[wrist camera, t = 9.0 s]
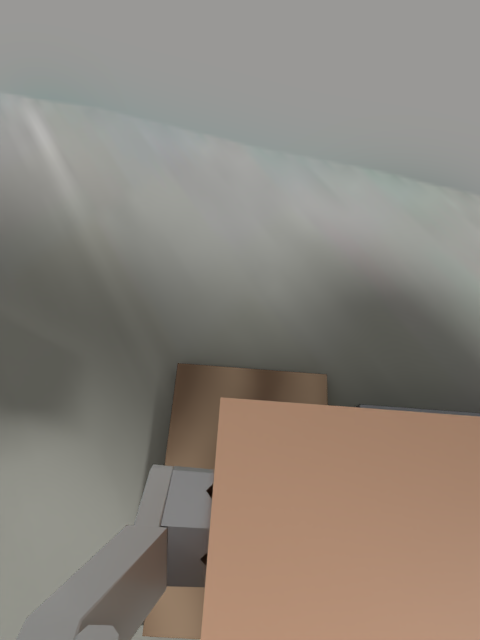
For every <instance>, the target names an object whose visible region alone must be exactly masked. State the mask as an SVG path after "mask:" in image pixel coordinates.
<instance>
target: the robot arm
mask: <svg viewBox="0 0 480 640" xmlns="http://www.w3.org/2000/svg"><path fill="white" fill-rule="evenodd" d="M213 482H214V470H213V469H203V468H192V467H181V466H166V465H155V464H153V466H152V467H151V469H150V471H149V475H148V478H147V482H146V485H145V488H144V492H143V495H142V498H141V502H140V505H139V508H138V512H137V515H136V519H135V522H134V525H126V526H125V527H124V528H123V529H122V530H121V531H120V532H119V533H118V534H117V535H115V536H114V537H113V538H112V539H111V540H110V541H109V542H108V543H107V544H106V545H105V546H104V547H103V548H101V549H100V550H99V551H98V552H97V553H96V554H95V555H94V556H93V557H92V558H91V559H90V560H89V561H87V562H86V563H85V564H84V565H83V566H82V567H81V568H80V569H79V570H78V571H77V572H76V573H74V574H73V575H72V576H71V577H70V578H69V579H68V580H67V581H66V582H65V583H64V584H63V585H62V586H60V587H59V588H58V589H57V590H56V591H55V592H54V593H53V594H52V595H51V596H50V597H49V598H48V599H46V600H45V601H44V602H43V603H42V604H41V605H40V606H39V607H38V608H37V609H36V610H35V611H34V612H32V613H31V614H30V615H29V616H28V617H27V618H26V620H25V622H24V624H23V626H22V628H21V630H20V632H19V634H18V637H17V639H16V640H131V638H132V637H133V636H134V634H135V633H136V631H137V630H138V629H139V627H140V626H141V624H142V623H143V621H144V620H145V619H146V617H147V616H148V614H149V613H150V612H151V610H152V609H153V607H154V606H155V605H156V603H157V602H158V600H159V599H160V597H161V596H162V595H163V593H164V592H165V590H166V586H171V587H205V580H206V568H207V556H208V543H209V531H210V519H211V507H212V495H213Z"/></svg>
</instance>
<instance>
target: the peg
mask: <svg viewBox="0 0 480 640" xmlns="http://www.w3.org/2000/svg"><path fill="white" fill-rule="evenodd" d="M201 640H480V417H479V416H465V415H452V414H438V413H425V412H411V411H398V410H384V409H371V408H357V407H344V406H330V405H317V404H304V403H290V402H277V401H263V400H250V399H236V398H223V397H220V409H219V421H218V434H217V446H216V458H215V470H214V482H213V495H212V507H211V519H210V531H209V543H208V556H207V568H206V580H205V592H204V604H203V617H202V629H201Z"/></svg>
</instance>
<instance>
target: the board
mask: <svg viewBox="0 0 480 640" xmlns="http://www.w3.org/2000/svg"><path fill="white" fill-rule="evenodd" d="M220 397H223V398H236V399H250V400H263V401H277V402H290V403H304V404H317V405H328V400H327V375H326V374H313V373H300V372H287V371H273V370H260V369H247V368H234V367H221V366H207V365H194V364H181V363H178V366H177V374H176V381H175V389H174V397H173V404H172V412H171V420H170V427H169V435H168V443H167V450H166V458H165V465H166V466H181V467H192V468H203V469H213V470H215V458H216V446H217V434H218V421H219V409H220ZM204 592H205V587H171V586H166V590H165V592H164V593H163V595H162V596H161V597H160V599H159V600H158V602H157V603H156V605H155V606H154V607H153V609H152V610H151V612H150V613H149V614H148V616H147V617H146V619H145V620H144V627H143V635H142V636H150V637H168V638H186V639H201V629H202V617H203V604H204Z"/></svg>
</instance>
